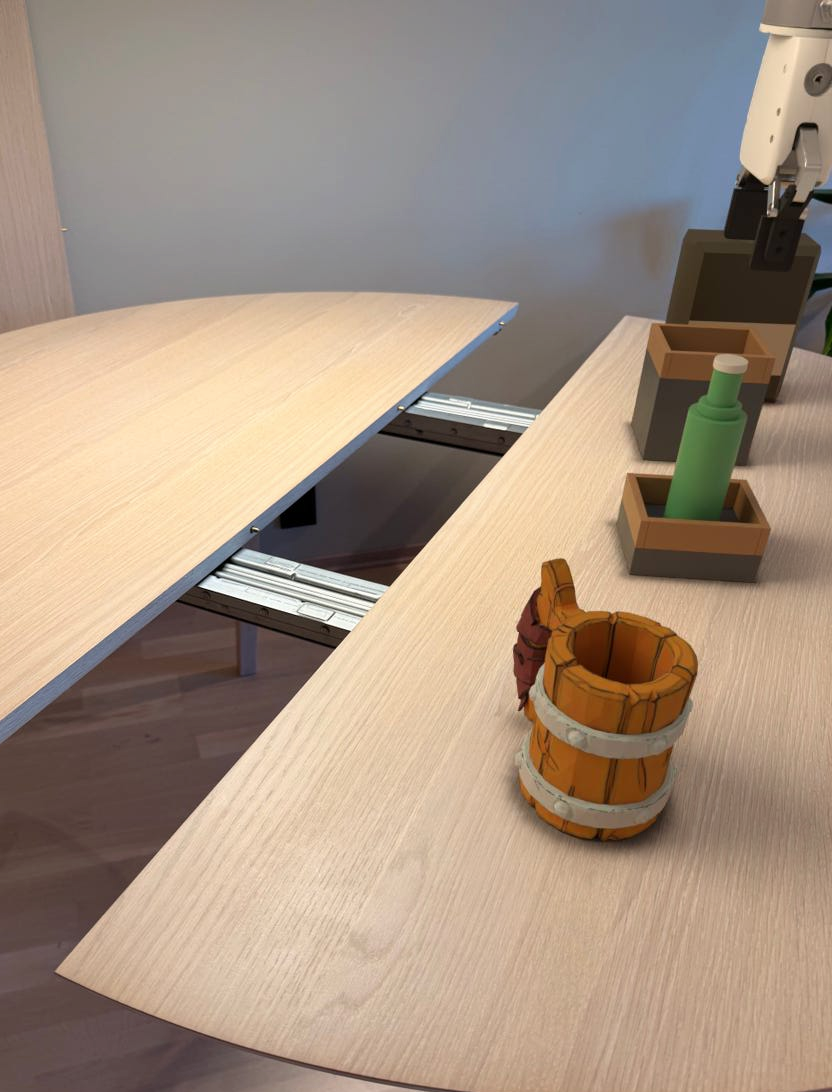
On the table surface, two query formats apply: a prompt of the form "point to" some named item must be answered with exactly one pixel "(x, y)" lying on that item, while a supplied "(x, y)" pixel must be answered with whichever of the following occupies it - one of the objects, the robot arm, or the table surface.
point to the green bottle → (709, 446)
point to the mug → (598, 711)
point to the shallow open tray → (690, 533)
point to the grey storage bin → (694, 383)
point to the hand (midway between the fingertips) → (754, 253)
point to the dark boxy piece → (743, 292)
